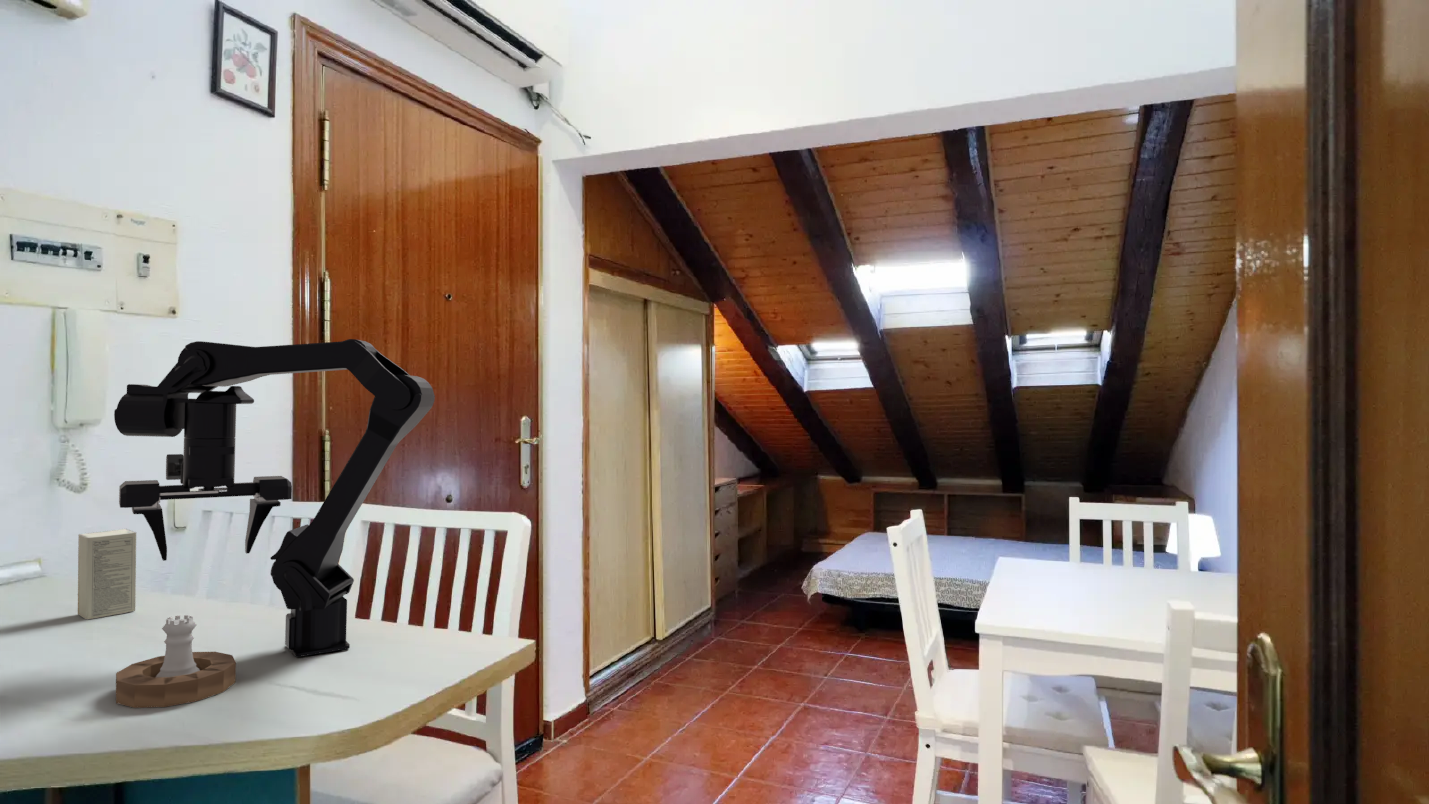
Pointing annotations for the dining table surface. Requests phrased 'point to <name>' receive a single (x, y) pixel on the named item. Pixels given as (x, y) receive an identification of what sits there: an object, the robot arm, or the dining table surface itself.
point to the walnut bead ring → (174, 681)
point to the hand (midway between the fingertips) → (207, 556)
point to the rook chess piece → (178, 647)
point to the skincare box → (106, 573)
